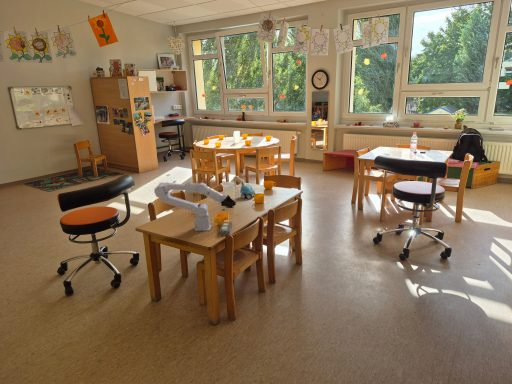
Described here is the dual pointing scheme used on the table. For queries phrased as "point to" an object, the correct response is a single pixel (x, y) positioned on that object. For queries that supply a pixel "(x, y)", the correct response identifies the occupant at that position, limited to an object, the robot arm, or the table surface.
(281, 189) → the table surface
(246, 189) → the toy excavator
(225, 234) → the grey button panel
